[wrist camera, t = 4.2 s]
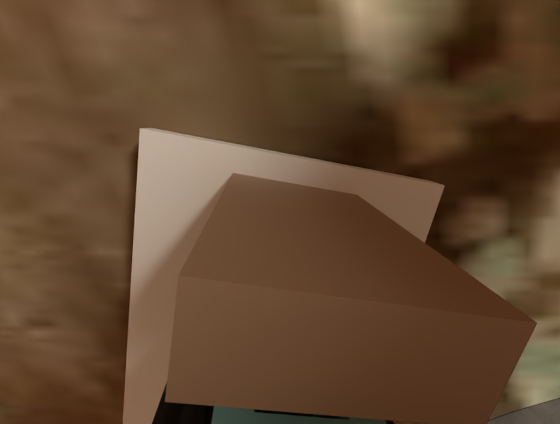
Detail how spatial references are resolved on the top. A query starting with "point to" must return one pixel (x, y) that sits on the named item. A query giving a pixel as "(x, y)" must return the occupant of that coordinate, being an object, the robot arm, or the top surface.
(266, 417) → the sleeve
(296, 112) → the top surface
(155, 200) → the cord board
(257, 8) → the top surface
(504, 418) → the hip flask
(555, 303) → the top surface
